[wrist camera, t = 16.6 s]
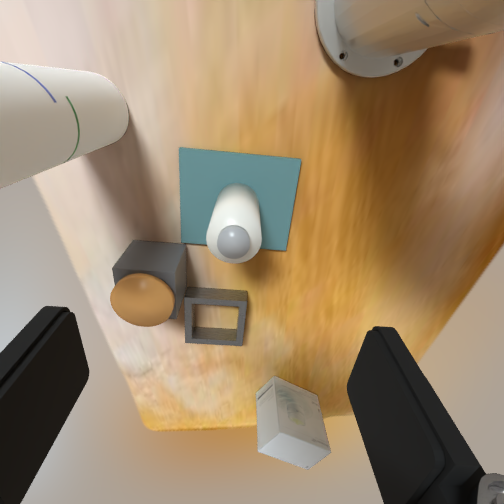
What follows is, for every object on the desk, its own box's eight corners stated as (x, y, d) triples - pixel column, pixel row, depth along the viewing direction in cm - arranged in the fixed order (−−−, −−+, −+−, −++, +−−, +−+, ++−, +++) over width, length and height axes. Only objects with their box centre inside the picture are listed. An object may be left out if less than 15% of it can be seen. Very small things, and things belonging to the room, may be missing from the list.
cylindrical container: (91, 54, 29) (-379, -49, 7) (142, 120, 32) (-82, 186, 10) (45, 99, 31) (-441, 125, 9) (97, 157, 34) (-174, 282, 12)
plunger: (180, 257, 36) (171, 280, 32) (181, 302, 40) (173, 328, 35) (123, 253, 36) (106, 276, 32) (129, 298, 39) (114, 324, 35)
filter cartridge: (261, 185, 35) (265, 220, 25) (256, 224, 38) (258, 271, 28) (217, 180, 35) (205, 215, 25) (215, 221, 37) (204, 266, 28)
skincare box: (318, 393, 56) (333, 453, 46) (297, 411, 58) (307, 471, 49) (274, 373, 53) (280, 433, 43) (254, 393, 55) (255, 453, 46)
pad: (300, 158, 34) (301, 159, 34) (285, 248, 40) (285, 250, 40) (179, 147, 33) (178, 148, 33) (182, 240, 39) (181, 242, 39)
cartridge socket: (247, 290, 43) (247, 301, 41) (242, 334, 48) (242, 346, 46) (187, 286, 43) (184, 297, 41) (188, 331, 47) (185, 342, 45)
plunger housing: (186, 244, 39) (174, 272, 33) (186, 286, 43) (176, 319, 37) (133, 240, 39) (112, 268, 33) (138, 282, 42) (119, 315, 36)
